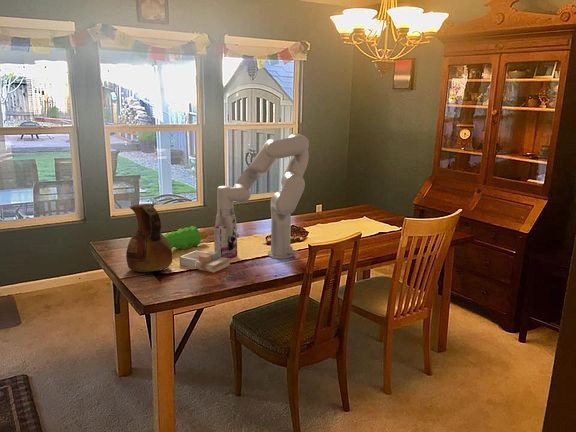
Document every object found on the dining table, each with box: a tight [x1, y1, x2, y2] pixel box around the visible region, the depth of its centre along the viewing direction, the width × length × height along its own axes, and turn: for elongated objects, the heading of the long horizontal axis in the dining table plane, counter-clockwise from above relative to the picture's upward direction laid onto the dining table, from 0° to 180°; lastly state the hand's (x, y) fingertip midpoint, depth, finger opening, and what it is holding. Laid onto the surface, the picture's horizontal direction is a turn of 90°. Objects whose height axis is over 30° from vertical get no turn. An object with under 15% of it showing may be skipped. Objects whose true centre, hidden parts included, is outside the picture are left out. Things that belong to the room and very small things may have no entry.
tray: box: [178, 250, 208, 269], centre depth 237 cm, size 9×12×4 cm
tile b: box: [199, 254, 211, 263], centre depth 231 cm, size 4×4×2 cm
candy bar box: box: [213, 225, 238, 260], centre depth 244 cm, size 11×5×16 cm, turn 143°
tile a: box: [206, 250, 218, 260], centre depth 235 cm, size 4×4×2 cm
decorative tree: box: [163, 225, 208, 250], centre depth 257 cm, size 11×12×30 cm
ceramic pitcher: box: [125, 203, 173, 273], centre depth 224 cm, size 20×20×30 cm
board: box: [195, 256, 231, 273], centre depth 232 cm, size 10×12×3 cm
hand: (225, 248), depth 245 cm, fingers closed on candy bar box, 5 cm apart
